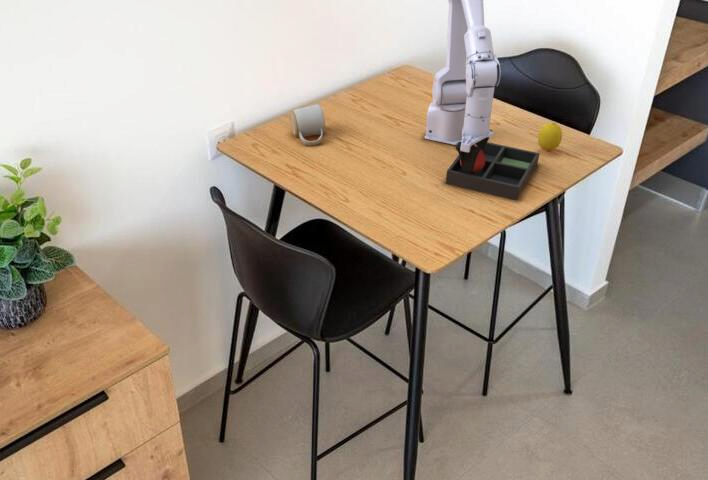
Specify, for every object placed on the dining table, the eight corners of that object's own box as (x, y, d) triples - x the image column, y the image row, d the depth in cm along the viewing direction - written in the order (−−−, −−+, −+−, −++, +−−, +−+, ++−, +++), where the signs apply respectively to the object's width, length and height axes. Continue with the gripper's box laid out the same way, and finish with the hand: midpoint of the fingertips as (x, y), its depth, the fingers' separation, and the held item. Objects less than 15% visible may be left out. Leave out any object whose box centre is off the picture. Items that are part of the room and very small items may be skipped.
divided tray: (445, 183, 181) (446, 170, 179) (469, 150, 192) (470, 138, 190) (517, 200, 174) (519, 187, 172) (537, 165, 186) (539, 153, 184)
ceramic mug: (289, 129, 204) (287, 103, 200) (318, 125, 206) (317, 98, 201) (299, 149, 197) (298, 122, 192) (329, 144, 198) (329, 117, 193)
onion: (456, 168, 184) (459, 138, 179) (479, 166, 184) (483, 137, 179) (462, 181, 179) (465, 151, 174) (486, 179, 179) (490, 149, 174)
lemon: (559, 157, 188) (565, 128, 183) (536, 156, 189) (541, 127, 184) (558, 146, 192) (563, 117, 187) (535, 145, 193) (540, 116, 188)
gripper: (485, 130, 165) (478, 183, 173) (505, 102, 175) (497, 154, 183) (453, 123, 168) (448, 176, 176) (475, 96, 177) (469, 148, 186)
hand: (471, 165), depth 180 cm, fingers closed on onion, 6 cm apart
